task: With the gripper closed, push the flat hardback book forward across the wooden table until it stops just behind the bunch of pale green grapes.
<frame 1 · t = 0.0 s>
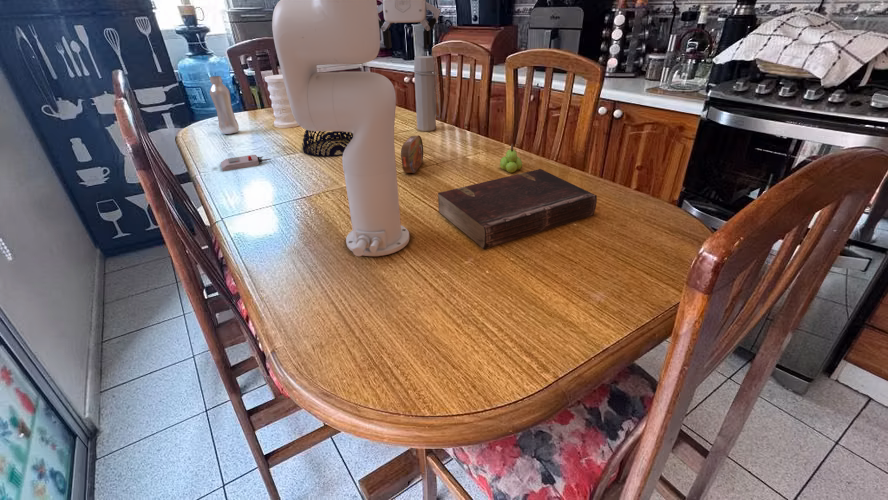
hand: (407, 48, 106), 31 cm above the table, tool pointing down, fingers open, 9 cm apart
tin: (413, 168, 121), on the table
water bottle: (428, 130, 157), on the table
plastic bottle: (231, 133, 158), on the table
moisture meter: (244, 165, 127), on the table
hardback book: (515, 215, 93), on the table
decorative container: (289, 124, 168), on the table
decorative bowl: (334, 147, 140), on the table
grapes: (510, 169, 118), on the table
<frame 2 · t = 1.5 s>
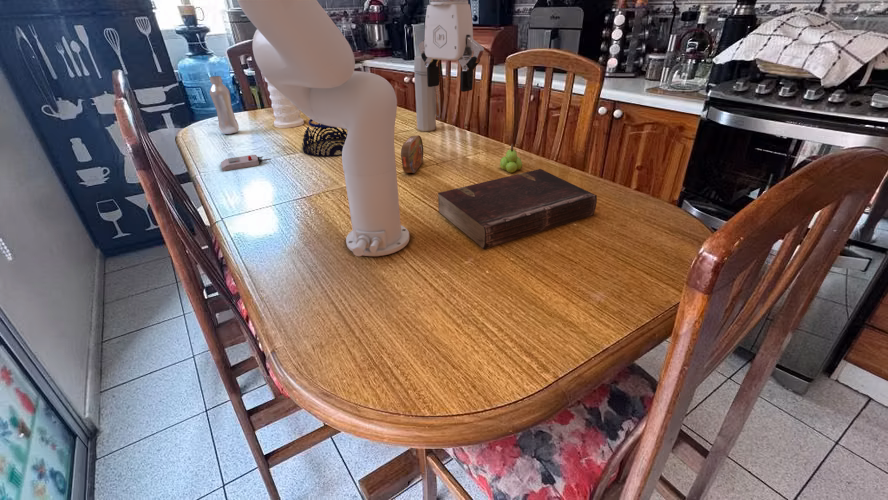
hand: (449, 88, 90), 25 cm above the table, tool pointing down, fingers open, 9 cm apart
nothing on the table moved.
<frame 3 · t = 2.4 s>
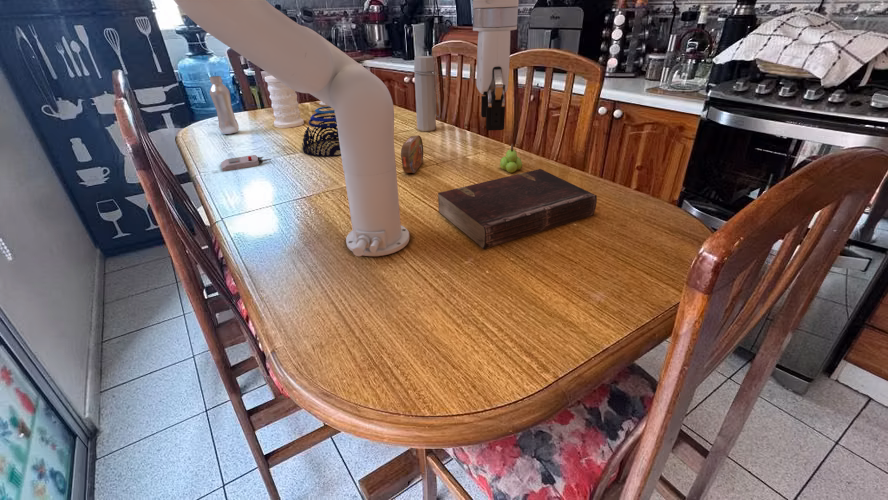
hand: (491, 122, 79), 21 cm above the table, tool pointing down, fingers open, 9 cm apart
nothing on the table moved.
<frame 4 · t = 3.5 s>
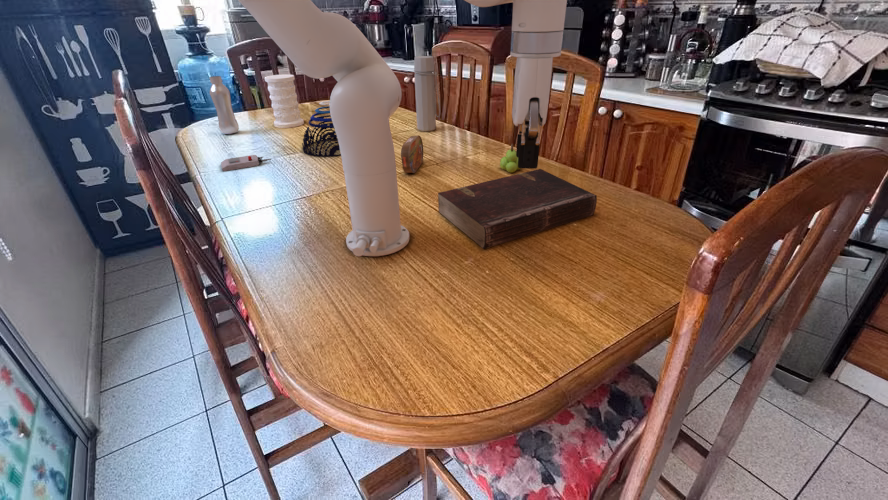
hand: (526, 161, 71), 17 cm above the table, tool pointing down, fingers open, 4 cm apart
nothing on the table moved.
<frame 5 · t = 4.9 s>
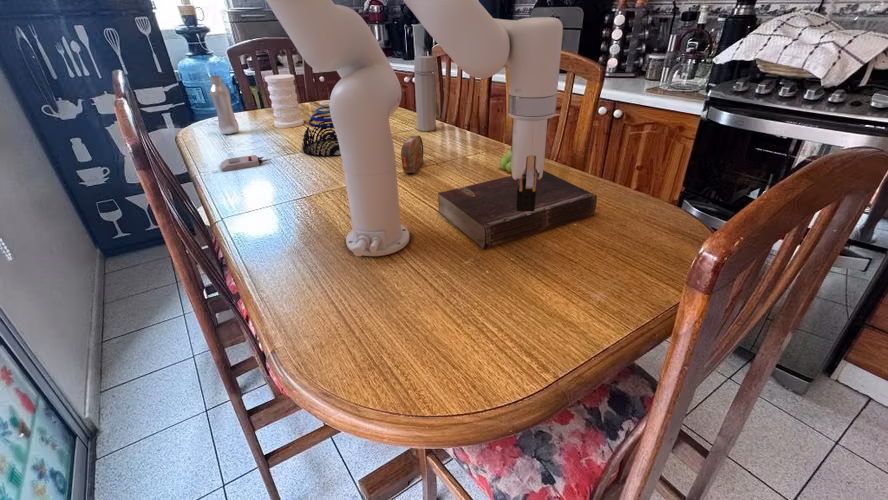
hand: (525, 209, 76), 8 cm above the table, tool pointing down, fingers closed
nothing on the table moved.
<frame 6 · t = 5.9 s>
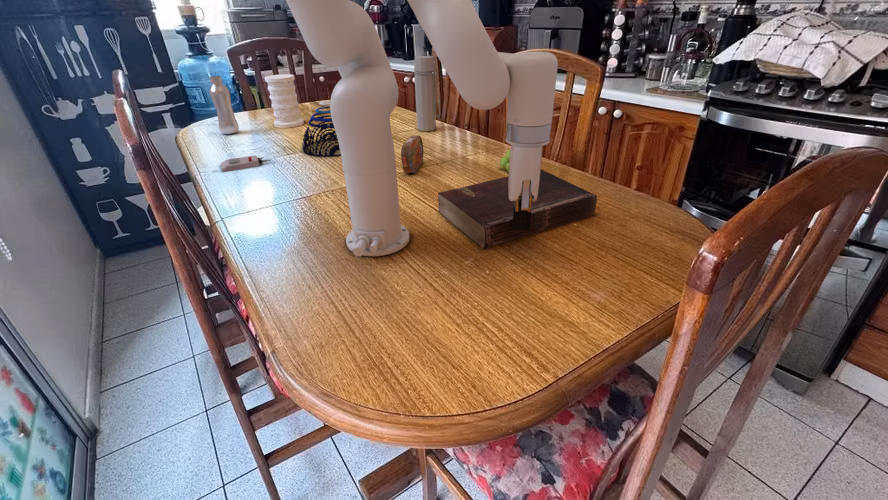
hand: (521, 227, 80), 4 cm above the table, tool pointing down, fingers closed
hardback book: (515, 215, 93), on the table, touching gripper
everything else where it was.
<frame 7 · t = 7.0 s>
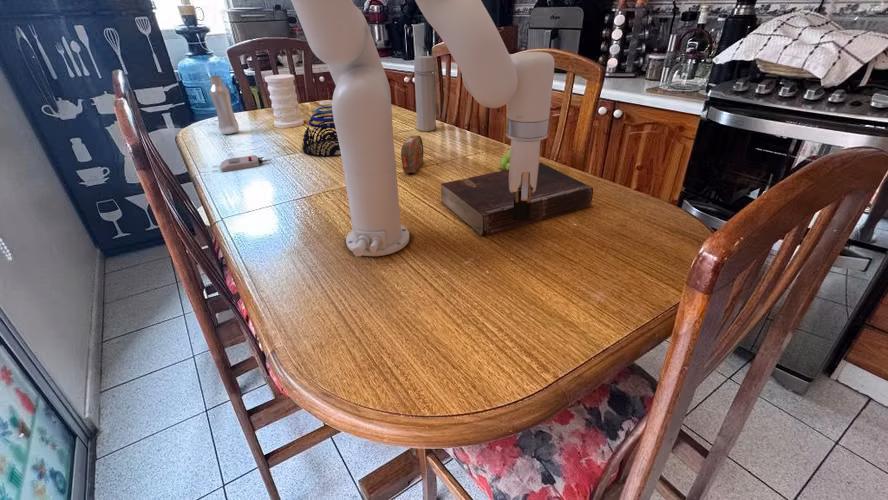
hand: (520, 218, 85), 3 cm above the table, tool pointing down, fingers closed
hardback book: (514, 205, 97), on the table, touching gripper
everything else where it was.
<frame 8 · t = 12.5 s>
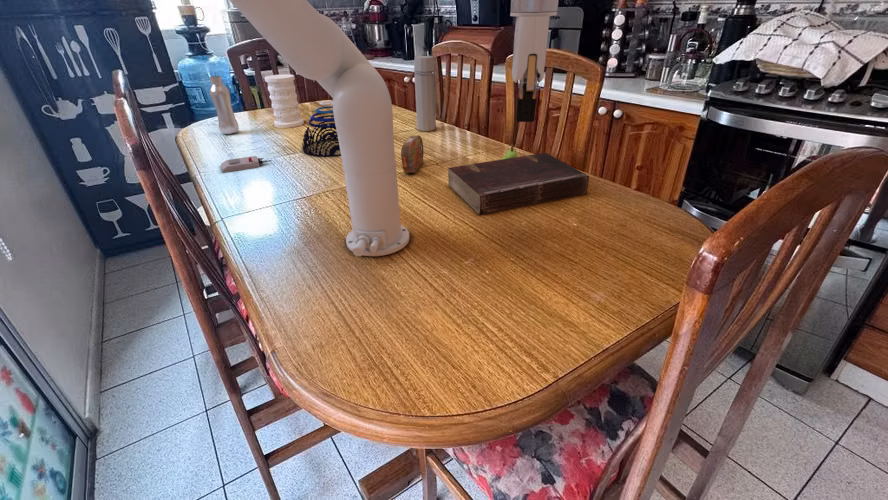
hand: (525, 120, 77), 22 cm above the table, tool pointing down, fingers closed
hardback book: (515, 190, 105), on the table
at the end: hardback book moved 14.0 cm from its start; hardback book 15.0 cm from the grapes (horizontally); hardback book inside the target area (1.7 cm from its centre), on the table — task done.
